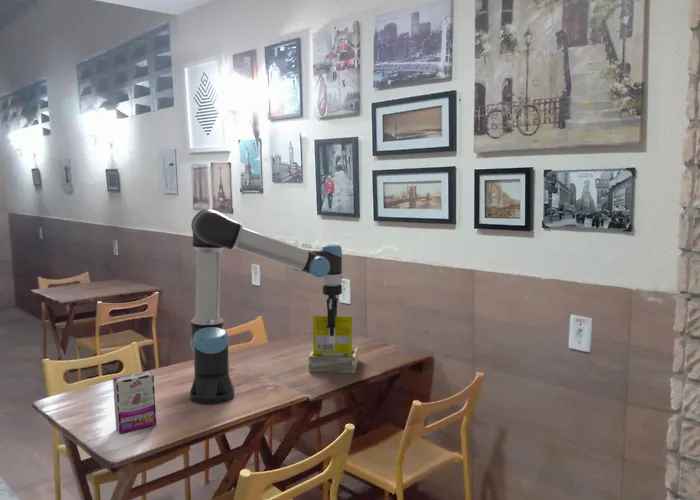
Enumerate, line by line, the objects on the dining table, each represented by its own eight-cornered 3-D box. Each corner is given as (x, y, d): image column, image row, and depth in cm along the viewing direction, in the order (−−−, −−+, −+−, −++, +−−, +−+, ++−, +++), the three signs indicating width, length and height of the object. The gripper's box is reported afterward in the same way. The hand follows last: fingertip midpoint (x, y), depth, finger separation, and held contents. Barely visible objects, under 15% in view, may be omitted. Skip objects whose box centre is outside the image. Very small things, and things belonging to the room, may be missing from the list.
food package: (351, 365, 234) (352, 316, 232) (351, 366, 233) (351, 317, 231) (313, 364, 235) (313, 315, 233) (313, 365, 234) (313, 316, 232)
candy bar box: (151, 420, 186) (149, 370, 184) (156, 425, 182) (154, 374, 180) (114, 428, 180) (112, 377, 177) (119, 434, 176) (116, 381, 173)
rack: (354, 373, 231) (354, 358, 230) (308, 371, 233) (308, 356, 232) (358, 360, 247) (358, 346, 246) (315, 358, 249) (315, 345, 248)
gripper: (339, 287, 223) (339, 348, 226) (343, 281, 237) (343, 338, 240) (320, 287, 224) (320, 347, 227) (325, 280, 238) (325, 337, 241)
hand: (332, 342), depth 233 cm, fingers closed on food package
